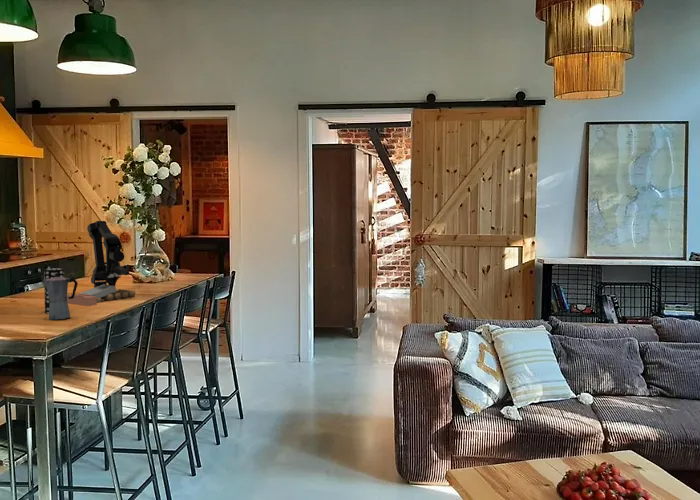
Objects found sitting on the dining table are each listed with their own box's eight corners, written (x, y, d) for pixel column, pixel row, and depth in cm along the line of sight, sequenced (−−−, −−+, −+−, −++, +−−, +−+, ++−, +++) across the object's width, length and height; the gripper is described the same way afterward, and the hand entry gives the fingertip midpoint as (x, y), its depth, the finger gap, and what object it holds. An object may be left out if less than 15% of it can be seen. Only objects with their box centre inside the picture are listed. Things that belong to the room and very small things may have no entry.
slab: (79, 299, 334) (78, 293, 333) (104, 289, 347) (103, 284, 346) (90, 301, 329) (89, 295, 329) (116, 291, 343) (115, 285, 342)
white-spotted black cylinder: (68, 311, 307) (67, 268, 305) (55, 314, 299) (54, 270, 297) (54, 310, 309) (53, 267, 308) (40, 312, 302) (39, 269, 300)
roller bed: (78, 302, 333) (78, 295, 333) (121, 295, 358) (121, 288, 358) (92, 303, 329) (92, 297, 328) (135, 296, 354) (135, 290, 353)
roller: (86, 303, 336) (85, 297, 335) (91, 301, 339) (90, 296, 338) (97, 304, 332) (96, 298, 332) (102, 303, 335) (101, 297, 334)
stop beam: (65, 303, 330) (65, 294, 329) (74, 301, 334) (73, 292, 334) (88, 305, 322) (88, 296, 322) (96, 304, 327) (96, 295, 326)
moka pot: (46, 316, 293) (45, 271, 292) (82, 316, 295) (81, 272, 293) (38, 320, 284) (37, 274, 282) (75, 320, 285) (74, 274, 284)
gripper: (109, 262, 332) (109, 293, 334) (136, 259, 349) (137, 289, 350) (93, 261, 338) (94, 291, 339) (121, 258, 354) (121, 287, 355)
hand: (112, 289), depth 346 cm, fingers closed
